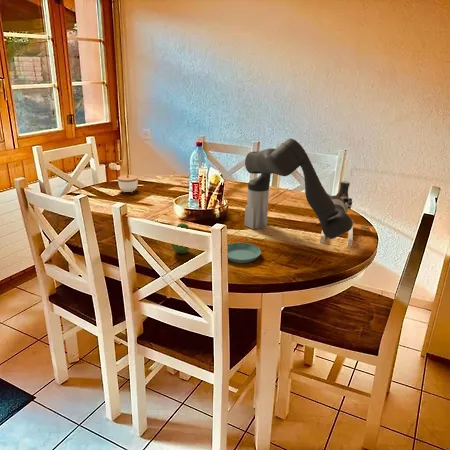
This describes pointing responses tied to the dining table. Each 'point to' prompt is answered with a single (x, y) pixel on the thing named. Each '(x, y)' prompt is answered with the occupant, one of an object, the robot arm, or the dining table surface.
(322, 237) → the channel
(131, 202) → the dining table surface
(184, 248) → the avocado
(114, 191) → the dining table surface
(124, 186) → the lidded jar
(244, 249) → the saucer
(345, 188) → the sauce bottle
